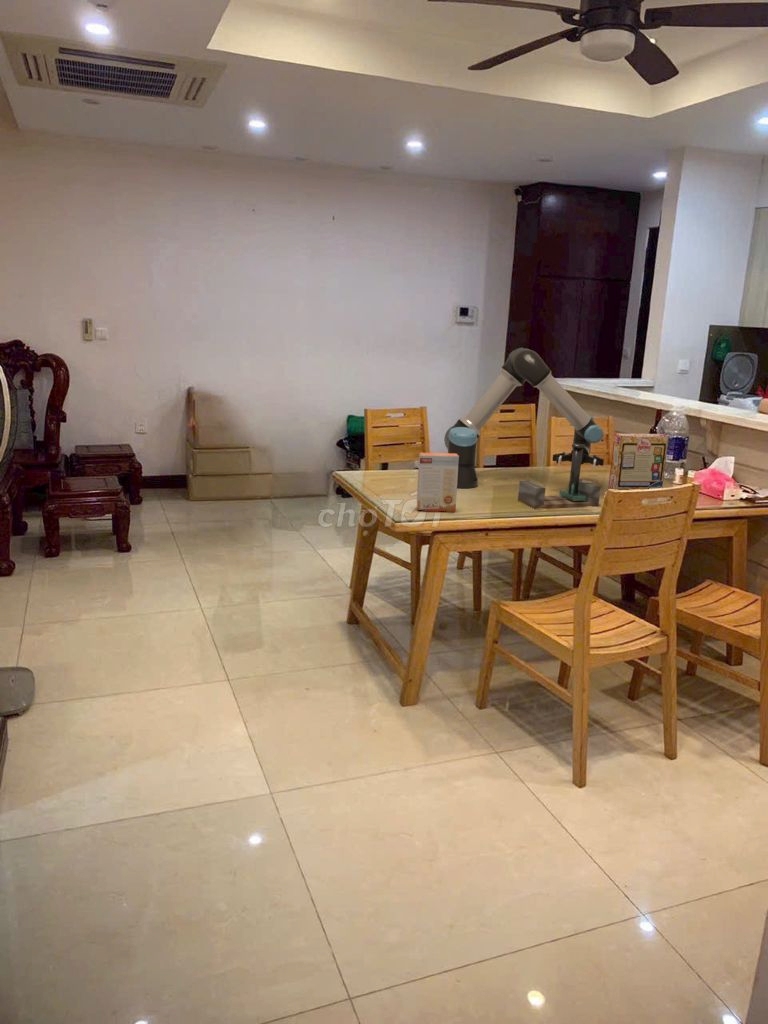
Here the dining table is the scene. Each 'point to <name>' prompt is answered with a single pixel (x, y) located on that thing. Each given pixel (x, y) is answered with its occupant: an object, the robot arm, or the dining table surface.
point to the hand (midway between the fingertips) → (576, 463)
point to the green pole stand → (575, 476)
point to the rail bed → (557, 496)
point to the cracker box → (437, 481)
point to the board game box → (638, 461)
